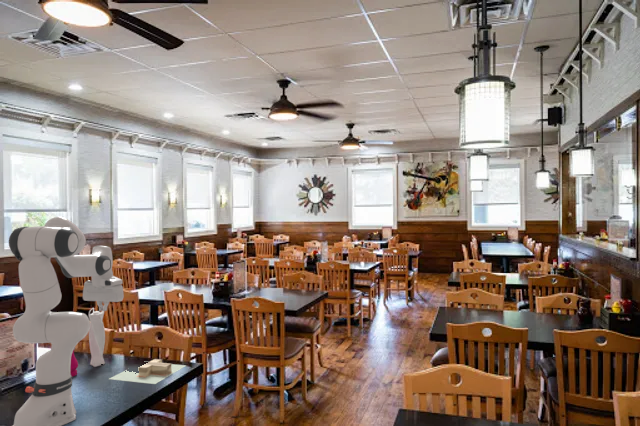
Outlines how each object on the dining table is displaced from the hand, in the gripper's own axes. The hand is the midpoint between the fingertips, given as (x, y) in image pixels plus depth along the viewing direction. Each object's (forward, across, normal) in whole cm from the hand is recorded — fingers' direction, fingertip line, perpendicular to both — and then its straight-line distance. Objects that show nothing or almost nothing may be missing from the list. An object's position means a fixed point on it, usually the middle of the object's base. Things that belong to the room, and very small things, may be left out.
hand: (103, 310), depth 206 cm
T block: (+30, +21, +10) cm, 38 cm away
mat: (+31, +16, +10) cm, 36 cm away
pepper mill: (+31, -18, -2) cm, 36 cm away
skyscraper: (+31, -17, +14) cm, 38 cm away
